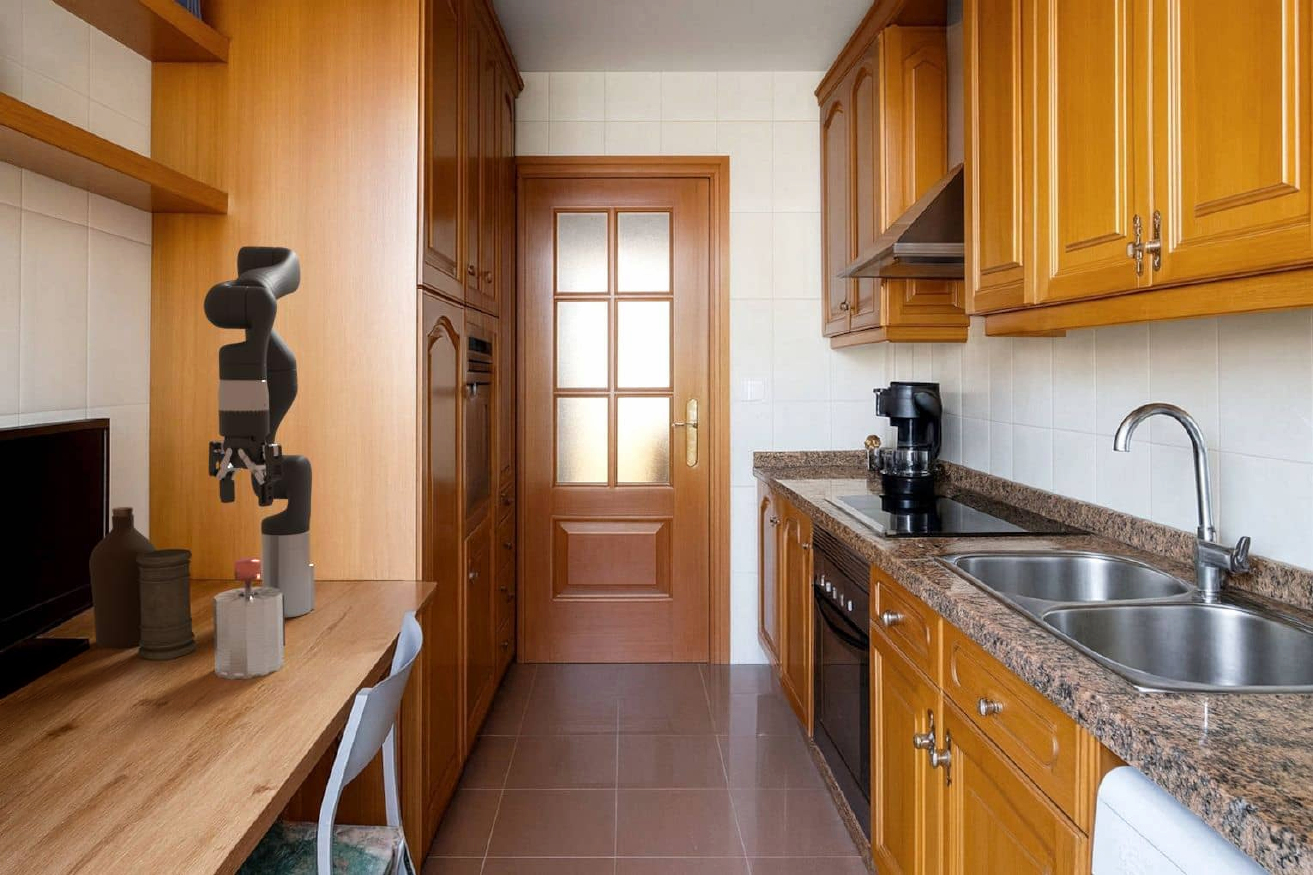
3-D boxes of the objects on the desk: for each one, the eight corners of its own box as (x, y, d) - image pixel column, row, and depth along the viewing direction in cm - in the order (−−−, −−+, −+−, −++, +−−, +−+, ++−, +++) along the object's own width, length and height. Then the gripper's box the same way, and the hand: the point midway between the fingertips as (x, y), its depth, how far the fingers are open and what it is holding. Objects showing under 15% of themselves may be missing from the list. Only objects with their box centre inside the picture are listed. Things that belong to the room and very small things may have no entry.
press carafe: (260, 652, 146) (258, 582, 146) (303, 660, 143) (302, 588, 142) (201, 673, 136) (199, 598, 135) (246, 683, 132) (245, 605, 131)
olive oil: (87, 653, 144) (82, 514, 142) (97, 636, 154) (93, 505, 152) (156, 646, 149) (152, 510, 147) (163, 629, 158) (159, 502, 157)
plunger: (251, 649, 143) (249, 554, 142) (282, 655, 140) (280, 558, 139) (215, 662, 136) (213, 562, 135) (247, 668, 134) (245, 566, 132)
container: (169, 662, 141) (166, 560, 139) (125, 658, 142) (122, 556, 141) (207, 646, 149) (205, 549, 148) (165, 642, 151) (163, 546, 150)
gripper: (294, 408, 136) (296, 504, 137) (232, 405, 141) (234, 498, 142) (257, 409, 129) (259, 511, 130) (192, 407, 134) (195, 504, 135)
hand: (246, 504), depth 136 cm, fingers open, 8 cm apart
